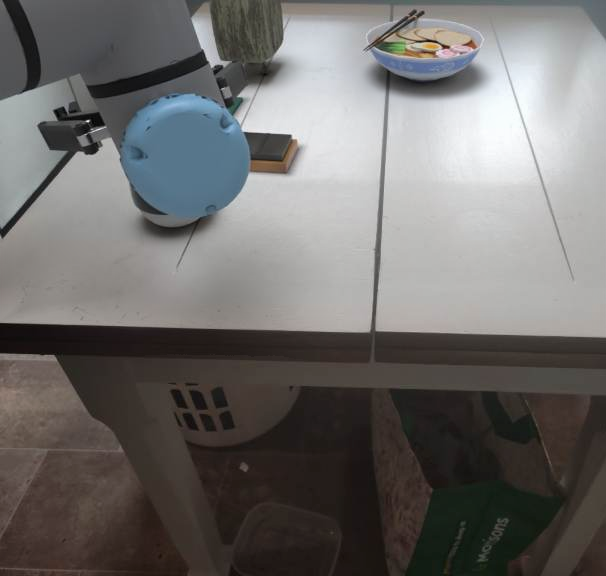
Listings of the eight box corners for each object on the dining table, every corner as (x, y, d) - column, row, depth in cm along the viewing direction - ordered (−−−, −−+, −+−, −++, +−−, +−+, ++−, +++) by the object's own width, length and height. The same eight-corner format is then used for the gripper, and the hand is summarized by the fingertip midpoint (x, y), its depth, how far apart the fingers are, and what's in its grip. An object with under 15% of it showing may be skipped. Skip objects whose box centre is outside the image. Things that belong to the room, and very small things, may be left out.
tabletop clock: (246, 58, 128) (227, -79, 111) (288, 61, 127) (275, -77, 110) (222, 86, 117) (197, -62, 101) (268, 89, 116) (250, -60, 100)
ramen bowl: (452, 110, 109) (455, 64, 104) (341, 86, 117) (339, 42, 111) (498, 64, 126) (503, 23, 121) (398, 46, 134) (399, 7, 128)
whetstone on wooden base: (183, 167, 93) (179, 150, 91) (201, 142, 99) (198, 126, 97) (286, 173, 92) (284, 156, 90) (298, 148, 98) (296, 132, 96)
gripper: (28, 223, 48) (42, 165, 65) (318, 119, 54) (259, 92, 72) (-26, 131, 44) (4, 96, 61) (292, 31, 50) (237, 25, 68)
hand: (141, 94), depth 67 cm, fingers open, 13 cm apart
